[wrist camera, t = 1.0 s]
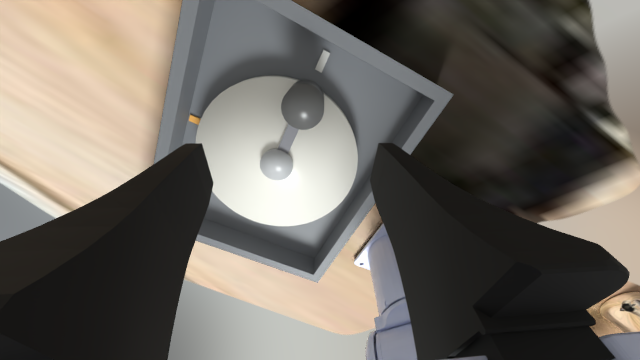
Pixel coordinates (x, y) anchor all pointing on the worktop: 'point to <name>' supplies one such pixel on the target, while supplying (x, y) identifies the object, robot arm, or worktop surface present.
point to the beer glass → (623, 311)
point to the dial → (278, 150)
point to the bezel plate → (300, 63)
